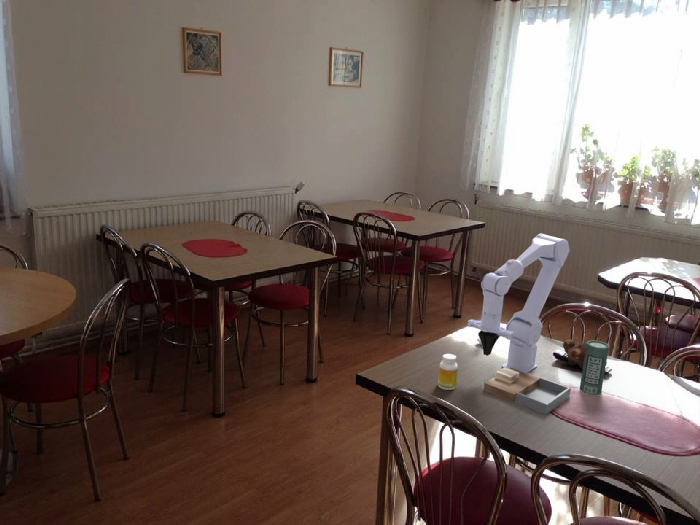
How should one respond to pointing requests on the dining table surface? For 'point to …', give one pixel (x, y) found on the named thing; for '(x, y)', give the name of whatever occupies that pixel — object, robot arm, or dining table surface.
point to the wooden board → (511, 386)
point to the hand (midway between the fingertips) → (487, 354)
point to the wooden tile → (507, 375)
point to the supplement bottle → (448, 372)
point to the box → (544, 396)
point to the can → (594, 367)
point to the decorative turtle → (575, 352)
